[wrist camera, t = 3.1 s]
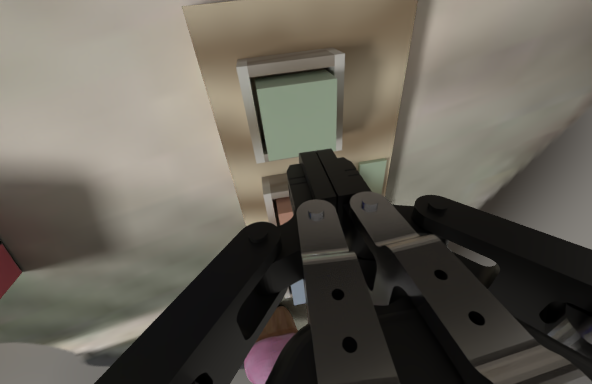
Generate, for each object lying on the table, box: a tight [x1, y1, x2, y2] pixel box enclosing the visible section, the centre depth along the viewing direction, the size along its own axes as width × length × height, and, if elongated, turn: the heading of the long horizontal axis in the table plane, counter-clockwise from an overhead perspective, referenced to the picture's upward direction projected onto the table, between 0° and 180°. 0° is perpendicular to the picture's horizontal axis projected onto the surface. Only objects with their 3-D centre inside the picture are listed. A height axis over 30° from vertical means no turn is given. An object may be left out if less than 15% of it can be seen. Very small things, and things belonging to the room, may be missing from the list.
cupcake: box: [244, 306, 298, 384], centre depth 35 cm, size 9×9×10 cm
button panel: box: [182, 0, 418, 298], centre depth 23 cm, size 30×14×4 cm, turn 5°
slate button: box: [291, 279, 306, 305], centre depth 27 cm, size 4×4×2 cm
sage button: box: [255, 69, 337, 161], centre depth 16 cm, size 4×4×2 cm
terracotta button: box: [276, 197, 293, 225], centre depth 21 cm, size 4×4×2 cm
